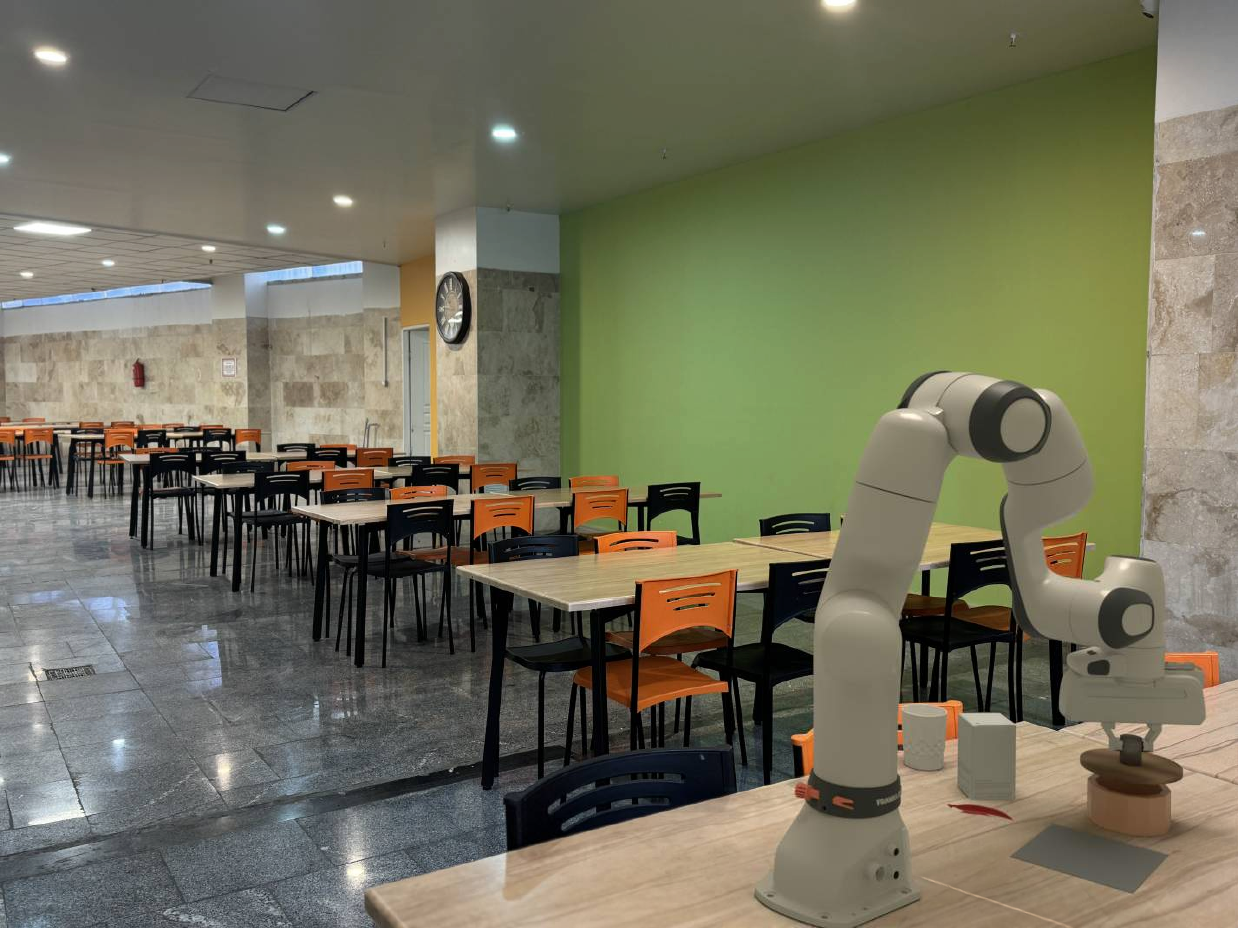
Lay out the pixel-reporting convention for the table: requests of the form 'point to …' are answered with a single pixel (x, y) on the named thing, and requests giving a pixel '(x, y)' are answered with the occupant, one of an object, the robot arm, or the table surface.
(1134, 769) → the lid
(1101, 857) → the mat
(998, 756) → the supplement box
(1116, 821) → the bowl
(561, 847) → the table surface
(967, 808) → the red feather
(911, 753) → the white cup
